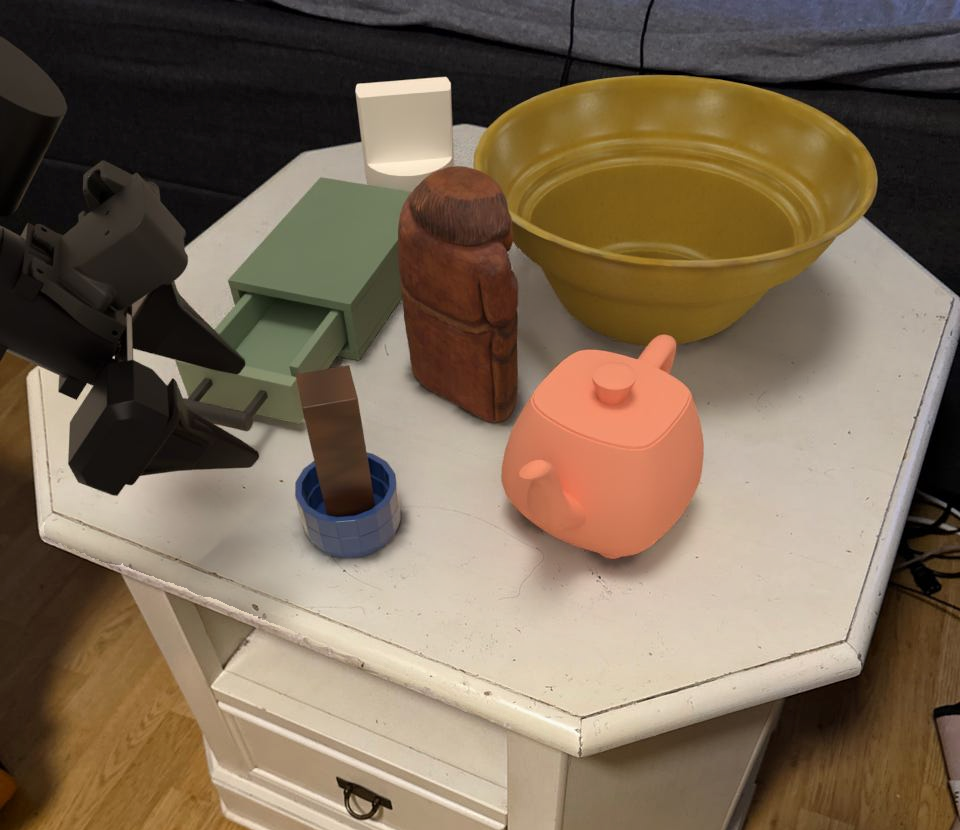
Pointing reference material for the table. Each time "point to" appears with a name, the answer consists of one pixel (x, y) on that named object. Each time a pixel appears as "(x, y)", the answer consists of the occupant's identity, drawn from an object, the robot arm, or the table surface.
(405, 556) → the table surface
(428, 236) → the wooden figurine
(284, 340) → the drawer
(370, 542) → the blue bowl
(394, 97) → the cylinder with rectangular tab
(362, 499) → the walnut block
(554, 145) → the planter bowl
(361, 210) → the cabinet
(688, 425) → the teapot
